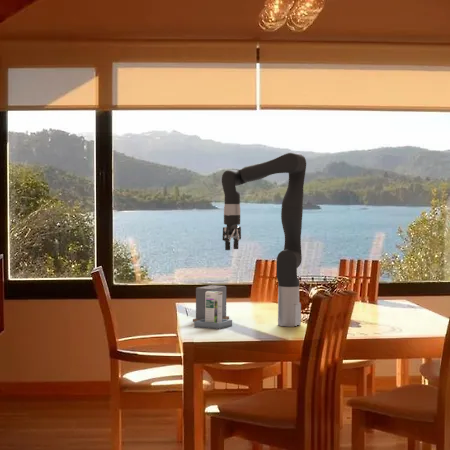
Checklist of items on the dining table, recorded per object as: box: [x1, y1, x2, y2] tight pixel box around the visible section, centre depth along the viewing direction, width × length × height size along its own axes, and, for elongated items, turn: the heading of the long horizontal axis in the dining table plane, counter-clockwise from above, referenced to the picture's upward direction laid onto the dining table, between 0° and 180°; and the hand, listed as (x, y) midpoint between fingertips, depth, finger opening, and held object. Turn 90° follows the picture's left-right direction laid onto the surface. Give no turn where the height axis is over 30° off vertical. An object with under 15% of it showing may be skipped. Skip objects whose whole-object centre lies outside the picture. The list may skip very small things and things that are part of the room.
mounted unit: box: [192, 284, 230, 322], centre depth 376 cm, size 10×16×15 cm, turn 152°
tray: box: [193, 319, 233, 330], centre depth 357 cm, size 12×12×2 cm
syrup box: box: [205, 291, 222, 323], centre depth 357 cm, size 6×6×14 cm
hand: (231, 249), depth 376 cm, fingers open, 8 cm apart
